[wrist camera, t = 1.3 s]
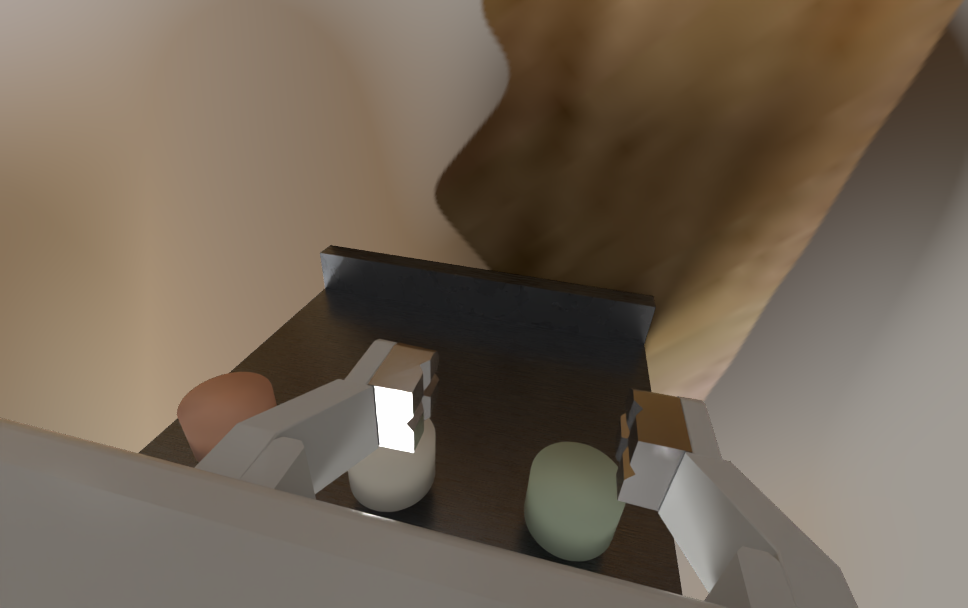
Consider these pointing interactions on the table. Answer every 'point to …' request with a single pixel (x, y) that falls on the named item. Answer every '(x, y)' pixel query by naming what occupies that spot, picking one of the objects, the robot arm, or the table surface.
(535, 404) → the button panel
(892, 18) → the table surface
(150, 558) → the robot arm
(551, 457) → the sage button
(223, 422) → the terracotta button
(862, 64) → the table surface
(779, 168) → the table surface
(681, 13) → the table surface
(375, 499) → the cream button
